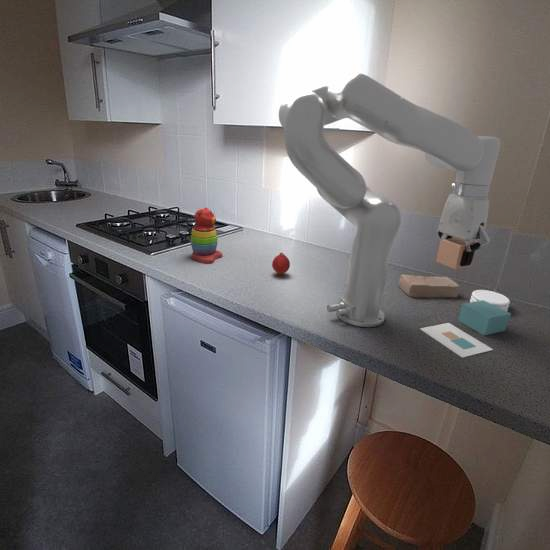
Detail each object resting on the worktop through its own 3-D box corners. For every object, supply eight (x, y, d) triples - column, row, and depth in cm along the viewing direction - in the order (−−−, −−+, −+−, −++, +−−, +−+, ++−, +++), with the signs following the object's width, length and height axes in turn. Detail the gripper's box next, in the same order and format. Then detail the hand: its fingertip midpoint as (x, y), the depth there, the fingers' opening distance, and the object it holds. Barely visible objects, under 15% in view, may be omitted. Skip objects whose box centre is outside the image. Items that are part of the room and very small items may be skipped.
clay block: (454, 269, 90) (460, 246, 88) (435, 261, 95) (440, 239, 93) (471, 266, 93) (477, 244, 91) (452, 259, 98) (457, 237, 96)
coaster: (473, 296, 114) (476, 286, 113) (509, 307, 108) (513, 296, 107) (465, 306, 107) (468, 295, 105) (503, 318, 101) (507, 307, 100)
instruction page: (462, 357, 81) (462, 356, 81) (419, 329, 92) (420, 328, 91) (492, 350, 84) (493, 349, 84) (448, 323, 95) (448, 322, 95)
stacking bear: (210, 264, 124) (210, 213, 118) (184, 259, 127) (183, 209, 120) (224, 255, 134) (225, 208, 127) (200, 251, 137) (199, 204, 130)
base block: (483, 335, 91) (489, 317, 89) (457, 320, 97) (462, 303, 96) (505, 330, 94) (511, 313, 92) (478, 316, 101) (483, 300, 99)
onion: (273, 270, 123) (275, 248, 120) (290, 273, 122) (292, 250, 119) (269, 276, 118) (271, 253, 114) (287, 279, 117) (289, 255, 114)
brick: (444, 287, 119) (447, 274, 118) (458, 298, 112) (462, 285, 110) (396, 287, 117) (399, 273, 116) (408, 298, 110) (411, 284, 108)
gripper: (431, 186, 93) (418, 252, 100) (493, 198, 78) (473, 274, 85) (452, 185, 96) (438, 249, 103) (515, 196, 81) (494, 270, 88)
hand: (454, 260), depth 94 cm, fingers closed on clay block, 6 cm apart
